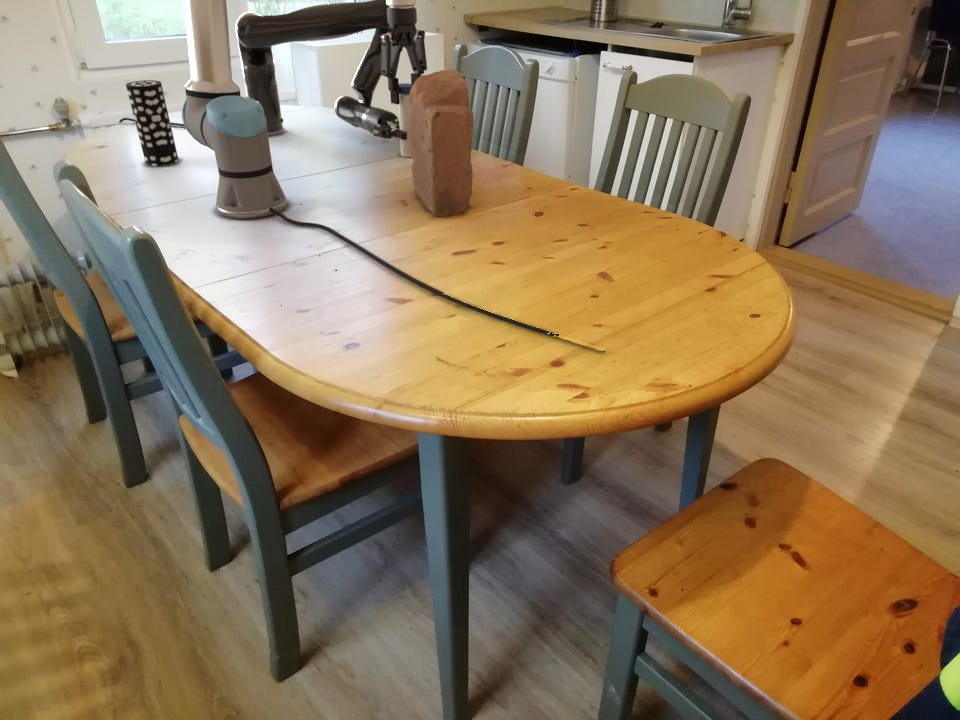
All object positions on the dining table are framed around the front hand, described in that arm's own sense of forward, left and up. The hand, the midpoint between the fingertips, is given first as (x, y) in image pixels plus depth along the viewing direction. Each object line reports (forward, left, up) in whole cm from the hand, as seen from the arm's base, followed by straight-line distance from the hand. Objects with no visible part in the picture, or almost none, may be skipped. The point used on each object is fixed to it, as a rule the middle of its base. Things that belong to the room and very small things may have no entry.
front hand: (405, 101), depth 187 cm
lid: (0, 0, +4) cm, 4 cm away
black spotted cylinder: (+24, +62, -4) cm, 67 cm away
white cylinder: (0, 0, -15) cm, 15 cm away
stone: (-38, +8, -15) cm, 42 cm away
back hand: (-3, 0, -8) cm, 9 cm away
